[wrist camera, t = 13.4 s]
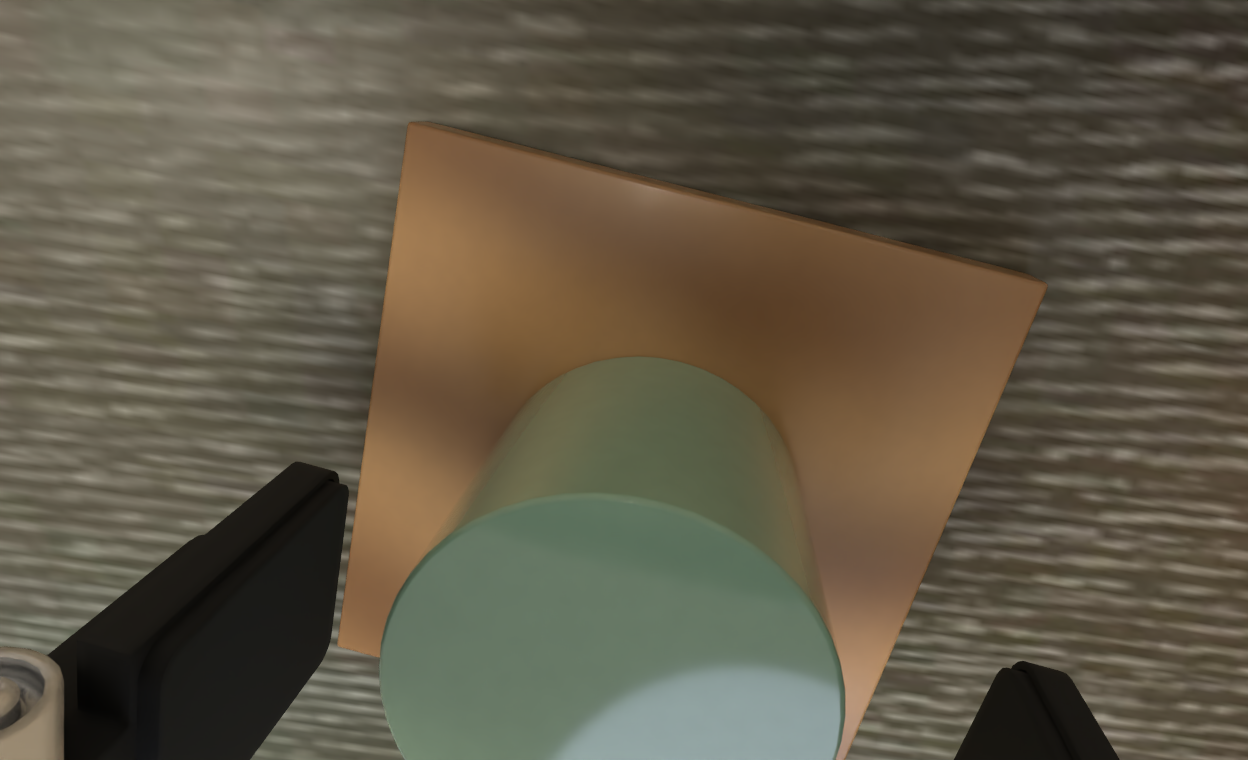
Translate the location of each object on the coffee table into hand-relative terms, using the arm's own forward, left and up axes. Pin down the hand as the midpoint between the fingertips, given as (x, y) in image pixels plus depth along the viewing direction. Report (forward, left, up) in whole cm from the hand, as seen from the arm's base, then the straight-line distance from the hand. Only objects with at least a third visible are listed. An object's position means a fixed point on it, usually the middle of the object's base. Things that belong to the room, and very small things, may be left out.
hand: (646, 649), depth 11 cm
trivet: (0, 0, -6) cm, 6 cm away
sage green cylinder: (+1, 0, -5) cm, 5 cm away
